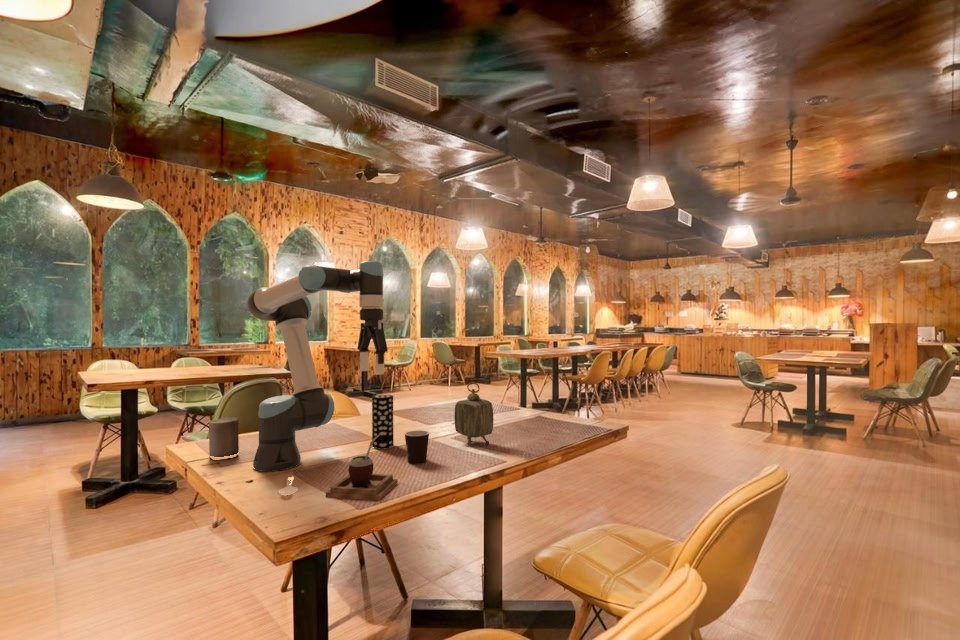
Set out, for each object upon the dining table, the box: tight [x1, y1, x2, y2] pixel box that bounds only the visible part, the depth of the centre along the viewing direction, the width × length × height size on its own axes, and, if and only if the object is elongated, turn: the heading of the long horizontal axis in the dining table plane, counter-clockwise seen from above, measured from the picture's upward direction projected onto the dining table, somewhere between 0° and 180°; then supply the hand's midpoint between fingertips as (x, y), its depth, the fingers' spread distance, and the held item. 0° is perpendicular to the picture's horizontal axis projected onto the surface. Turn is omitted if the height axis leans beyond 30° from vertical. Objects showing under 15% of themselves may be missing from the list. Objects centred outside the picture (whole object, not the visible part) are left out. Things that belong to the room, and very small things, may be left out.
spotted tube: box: [371, 394, 394, 449], centre depth 184 cm, size 8×8×20 cm
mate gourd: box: [347, 434, 380, 488], centre depth 135 cm, size 8×8×15 cm
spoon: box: [278, 479, 299, 497], centre depth 139 cm, size 5×18×1 cm, turn 19°
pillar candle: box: [208, 416, 240, 457], centre depth 171 cm, size 10×10×15 cm
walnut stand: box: [325, 473, 398, 501], centre depth 135 cm, size 16×14×3 cm
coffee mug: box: [404, 429, 430, 465], centre depth 164 cm, size 12×9×10 cm
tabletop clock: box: [454, 381, 495, 446], centre depth 186 cm, size 14×9×25 cm, turn 45°
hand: (371, 372), depth 152 cm, fingers open, 13 cm apart
